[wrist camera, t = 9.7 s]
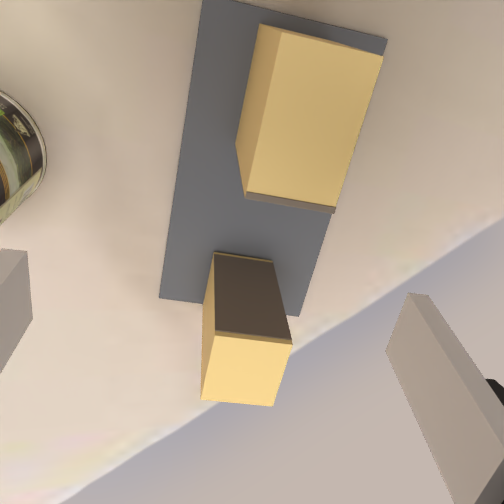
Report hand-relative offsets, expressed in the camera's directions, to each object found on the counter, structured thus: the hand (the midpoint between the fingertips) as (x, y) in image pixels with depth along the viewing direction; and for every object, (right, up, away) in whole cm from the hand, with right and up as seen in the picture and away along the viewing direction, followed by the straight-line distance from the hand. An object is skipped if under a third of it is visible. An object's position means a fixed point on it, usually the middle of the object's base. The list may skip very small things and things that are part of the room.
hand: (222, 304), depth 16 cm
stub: (0, -1, +27) cm, 27 cm away
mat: (+2, +8, +24) cm, 25 cm away
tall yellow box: (+3, +14, +20) cm, 25 cm away
